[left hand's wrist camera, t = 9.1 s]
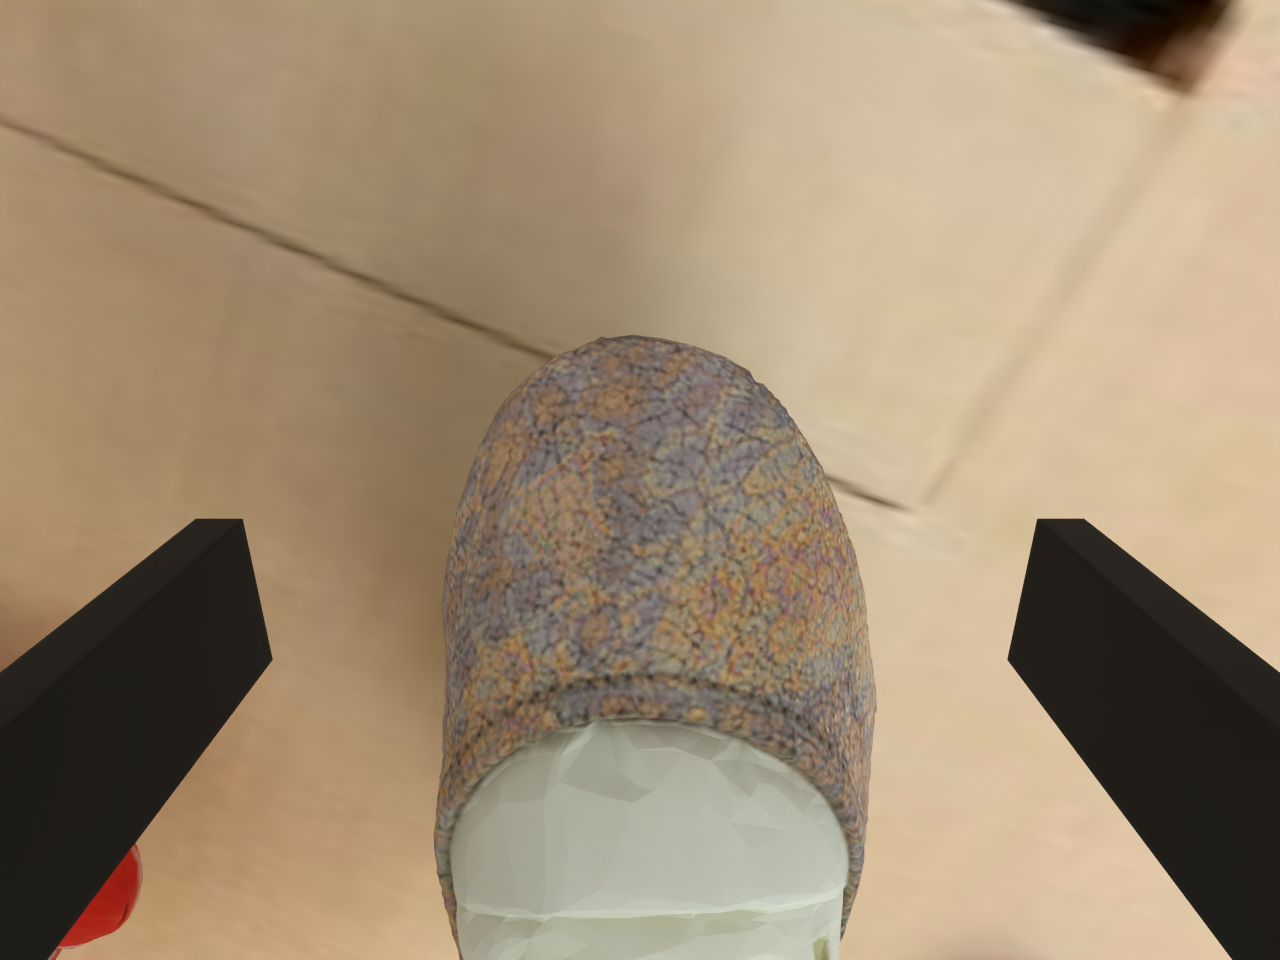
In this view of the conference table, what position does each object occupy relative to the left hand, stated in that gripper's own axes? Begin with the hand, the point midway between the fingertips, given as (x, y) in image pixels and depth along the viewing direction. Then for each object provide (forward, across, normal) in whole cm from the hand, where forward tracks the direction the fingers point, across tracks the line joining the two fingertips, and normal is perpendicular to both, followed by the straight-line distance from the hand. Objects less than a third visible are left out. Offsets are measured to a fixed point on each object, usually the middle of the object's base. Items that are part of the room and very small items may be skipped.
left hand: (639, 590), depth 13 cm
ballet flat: (+3, 0, -8) cm, 8 cm away
